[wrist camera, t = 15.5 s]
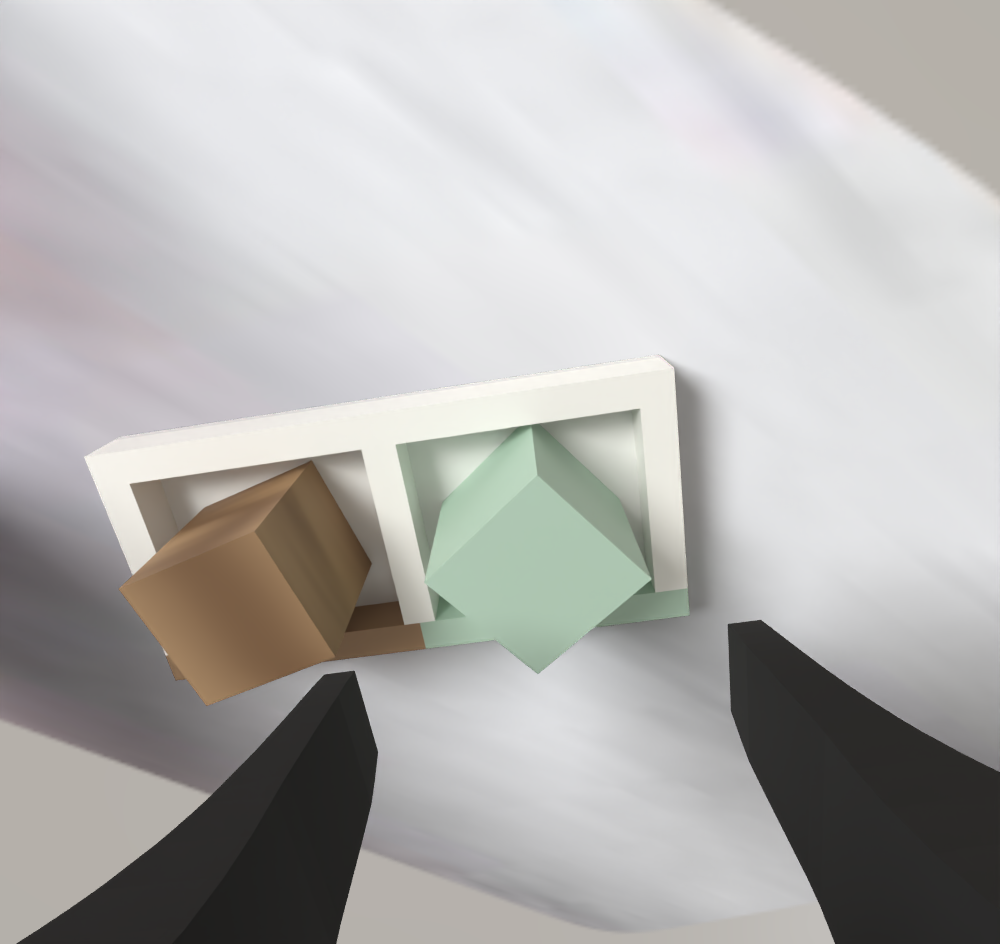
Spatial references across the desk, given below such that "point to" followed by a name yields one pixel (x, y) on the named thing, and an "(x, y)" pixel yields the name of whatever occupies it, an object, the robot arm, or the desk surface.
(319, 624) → the walnut block
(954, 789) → the robot arm
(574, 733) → the desk surface
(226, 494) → the slot board
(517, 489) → the sage block
